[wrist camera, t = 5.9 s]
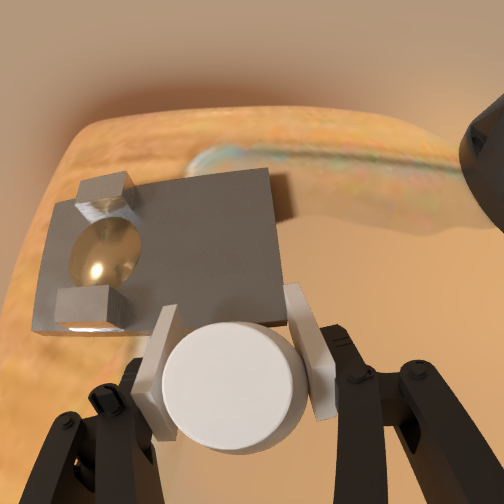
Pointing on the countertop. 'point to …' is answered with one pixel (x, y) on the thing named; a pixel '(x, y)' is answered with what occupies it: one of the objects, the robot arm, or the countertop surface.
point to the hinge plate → (161, 256)
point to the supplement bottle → (235, 387)
